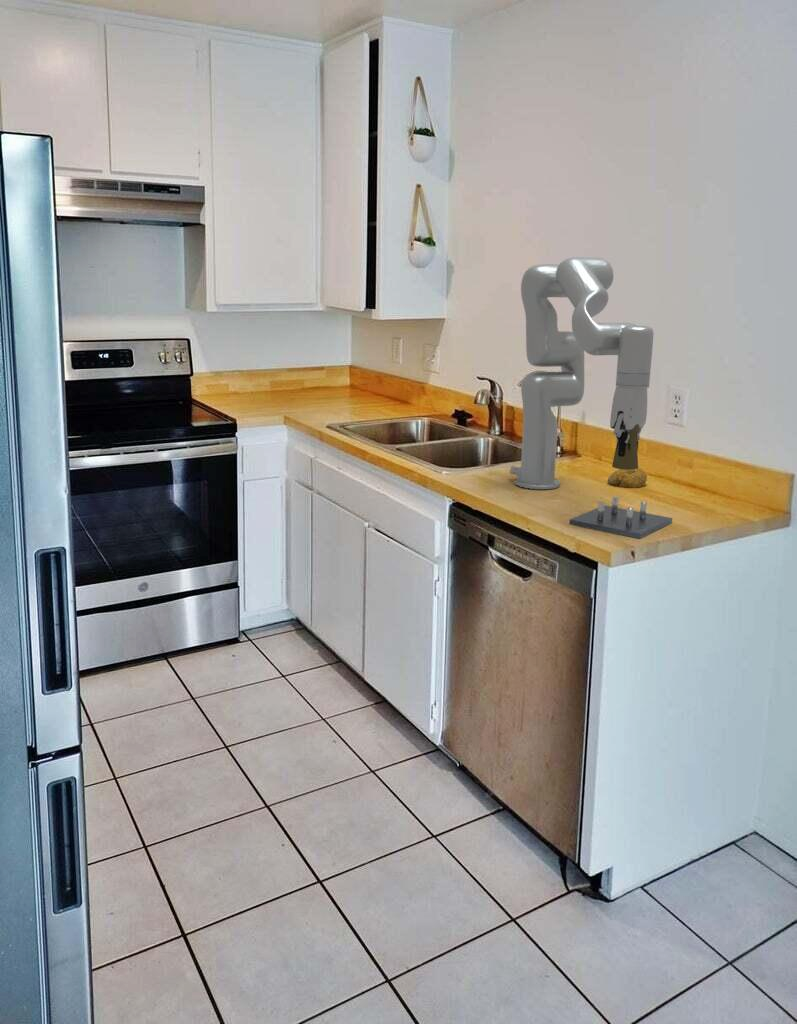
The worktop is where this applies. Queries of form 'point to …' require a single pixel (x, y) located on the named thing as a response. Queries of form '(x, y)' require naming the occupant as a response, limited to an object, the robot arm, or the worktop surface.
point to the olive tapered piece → (628, 452)
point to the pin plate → (621, 520)
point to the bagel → (628, 478)
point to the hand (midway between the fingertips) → (626, 457)
